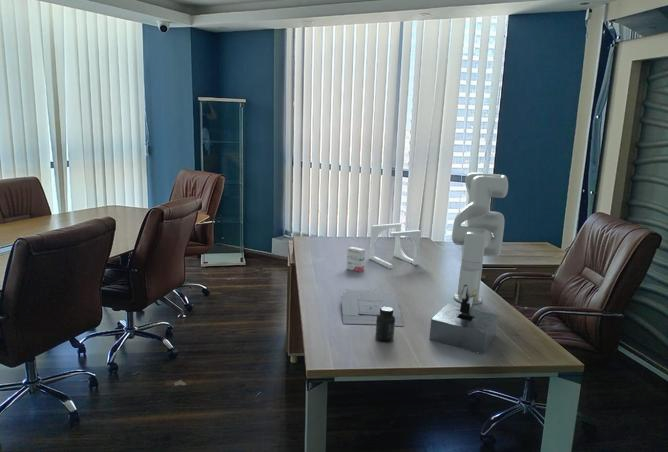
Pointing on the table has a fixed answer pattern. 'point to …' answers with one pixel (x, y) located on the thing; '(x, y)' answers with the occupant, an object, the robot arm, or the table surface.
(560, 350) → the table surface
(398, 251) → the white frame stand
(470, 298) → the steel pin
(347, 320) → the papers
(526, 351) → the table surface
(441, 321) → the grey square platform
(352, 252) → the ink box
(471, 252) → the robot arm
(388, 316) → the supplement bottle
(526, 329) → the table surface
